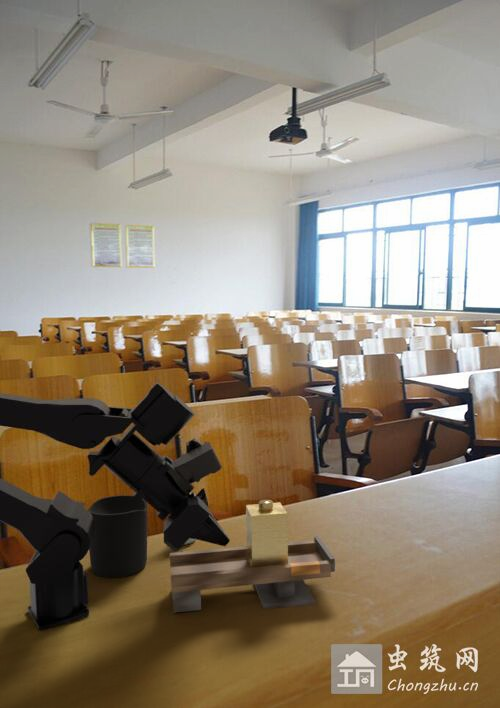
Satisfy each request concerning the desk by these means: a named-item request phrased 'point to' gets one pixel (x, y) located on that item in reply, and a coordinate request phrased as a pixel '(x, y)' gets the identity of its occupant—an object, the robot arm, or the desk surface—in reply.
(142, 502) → the pen holder
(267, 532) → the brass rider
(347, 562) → the desk surface
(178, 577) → the balance beam
